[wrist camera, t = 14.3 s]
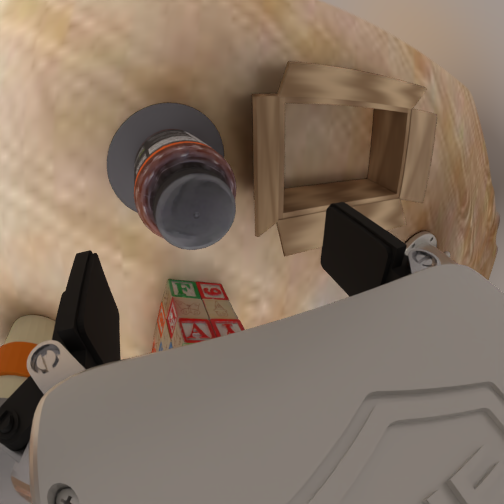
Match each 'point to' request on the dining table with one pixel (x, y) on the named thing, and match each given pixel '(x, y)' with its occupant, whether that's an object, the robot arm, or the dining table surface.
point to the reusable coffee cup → (21, 351)
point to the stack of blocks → (193, 314)
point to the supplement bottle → (184, 189)
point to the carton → (351, 192)
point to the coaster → (141, 129)
